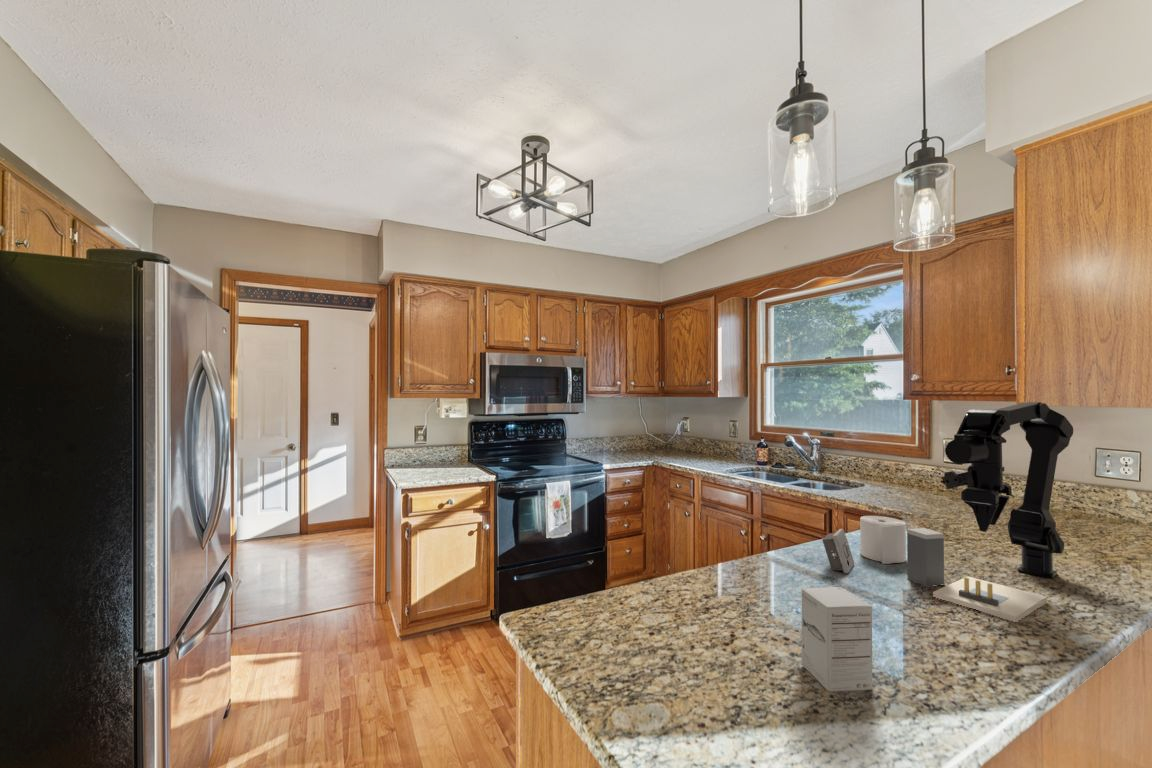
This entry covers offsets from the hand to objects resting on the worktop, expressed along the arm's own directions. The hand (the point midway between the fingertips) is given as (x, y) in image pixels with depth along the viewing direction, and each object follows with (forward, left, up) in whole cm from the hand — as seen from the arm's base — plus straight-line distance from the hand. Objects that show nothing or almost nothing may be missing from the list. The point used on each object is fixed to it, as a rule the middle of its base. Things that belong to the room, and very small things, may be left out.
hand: (987, 527), depth 116 cm
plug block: (+12, -9, -13) cm, 20 cm away
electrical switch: (+18, -26, -13) cm, 34 cm away
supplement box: (+70, -4, -13) cm, 71 cm away
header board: (+13, +3, -13) cm, 18 cm away
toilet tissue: (0, -22, -13) cm, 26 cm away
